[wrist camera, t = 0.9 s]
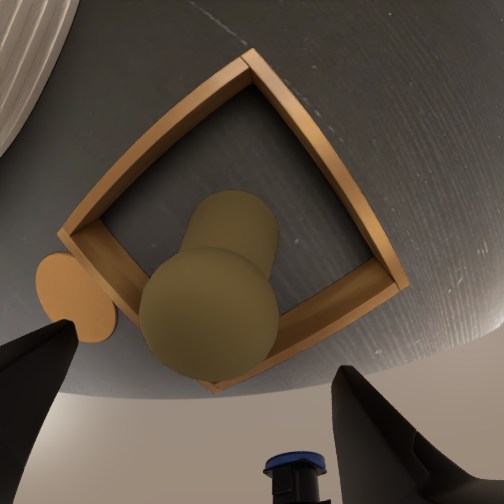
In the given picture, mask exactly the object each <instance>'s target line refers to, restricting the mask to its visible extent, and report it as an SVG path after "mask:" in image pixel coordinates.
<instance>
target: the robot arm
mask: <svg viewBox="0 0 504 504" xmlns="http://www.w3.org/2000/svg"><path fill="white" fill-rule="evenodd" d="M78 343H79V339H78V335H77V331H76V327H75V324H74V322H73V321H71V320H68V319H61V320H59V321H56V322H54V323H52V324H50V325H47V326H45V327H43V328H40V329H38V330H36V331H33V332H31V333H29V334H27V335H24V336H22V337H20V338H17V339H15V340H13V341H11V342H8V343H6V344H4V345H1V346H0V504H13V501H14V498H15V495H16V492H17V488H18V486H19V483H20V480H21V477H22V474H23V472H24V469H25V468H24V467H25V466H26V463H27V461H28V458H29V455H30V453H31V450H32V448H33V445H34V443H35V441H36V438H37V436H38V434H39V431H40V429H41V427H42V425H43V422H44V420H45V418H46V416H47V414H48V412H49V409H50V407H51V405H52V403H53V401H54V399H55V397H56V395H57V393H58V391H59V389H60V387H61V385H62V383H63V381H64V379H65V376H66V374H67V372H68V369H69V366H70V364H71V361H72V359H73V356H74V354H75V352H76V349H77V347H78ZM331 393H332V421H333V433H334V440H335V447H336V454H337V461H338V468H339V475H340V484H341V492H342V501H343V504H504V480H486V479H480V478H476V477H473V476H472V475H470V474H468V473H467V472H465V471H464V470H463V469H461V468H460V467H459V466H457V465H456V464H455V463H454V462H453V461H451V460H450V459H449V458H447V457H446V456H445V455H444V454H442V453H441V452H440V451H439V450H438V449H436V448H435V447H434V446H433V445H432V444H431V443H430V442H429V441H428V440H427V439H426V438H424V437H423V436H422V435H421V434H420V433H419V432H418V431H416V429H415V428H414V427H413V426H412V425H411V424H410V423H409V422H408V421H407V420H406V419H405V418H404V417H403V416H402V415H401V414H400V413H399V412H398V411H397V410H396V409H395V408H394V407H393V406H392V405H391V404H390V403H389V402H388V401H387V400H386V399H385V398H384V397H383V396H382V395H381V394H380V393H379V392H378V391H377V390H376V389H375V388H374V387H373V386H372V385H371V384H370V383H369V382H368V381H367V380H366V379H365V378H364V377H363V376H362V375H361V374H360V373H359V372H358V371H357V370H356V369H355V368H354V367H353V366H350V365H341V366H340V367H339V368H338V371H337V373H336V375H335V377H334V379H333V382H332V386H331ZM263 473H264V474H266V475H268V476H270V477H272V495H273V504H331V500H330V499H329V500H326V501H321V502H320V498H319V487H318V476H320V475H323V474H326V473H327V470H326V469H324V468H322V467H321V466H319V465H317V464H315V463H313V462H312V461H310V460H308V459H306V458H301V459H298V460H295V461H292V462H289V463H286V464H282V465H279V466H275V467H272V468H268V469H264V470H263Z"/></svg>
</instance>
